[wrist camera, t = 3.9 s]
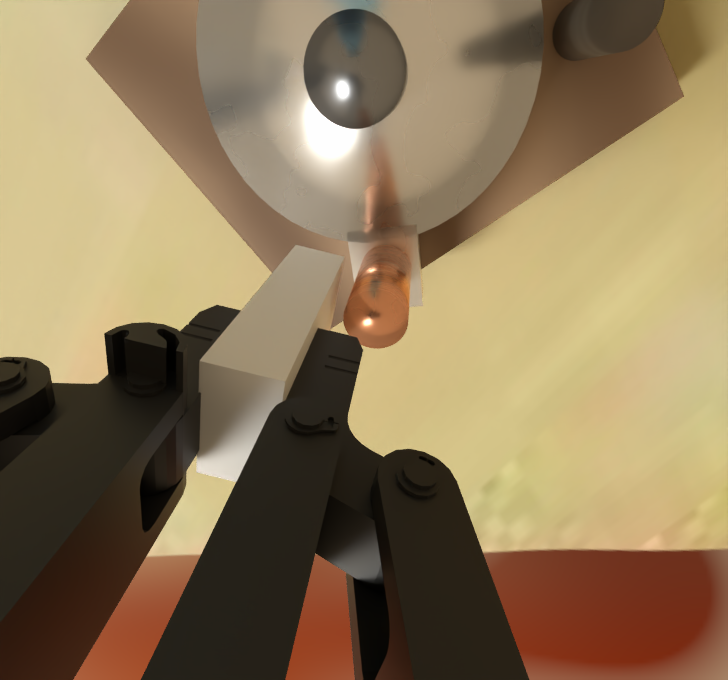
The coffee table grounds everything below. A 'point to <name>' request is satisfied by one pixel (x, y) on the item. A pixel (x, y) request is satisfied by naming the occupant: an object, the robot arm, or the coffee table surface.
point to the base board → (508, 190)
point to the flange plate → (389, 157)
